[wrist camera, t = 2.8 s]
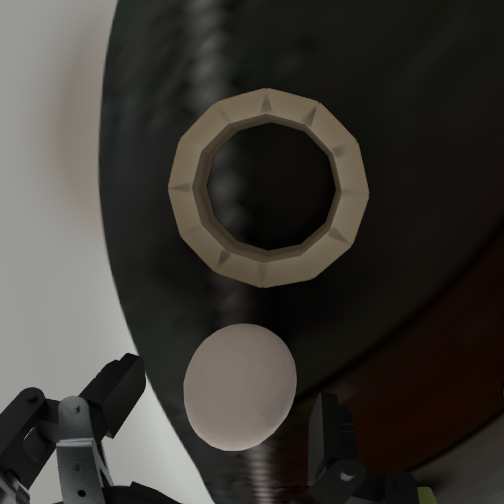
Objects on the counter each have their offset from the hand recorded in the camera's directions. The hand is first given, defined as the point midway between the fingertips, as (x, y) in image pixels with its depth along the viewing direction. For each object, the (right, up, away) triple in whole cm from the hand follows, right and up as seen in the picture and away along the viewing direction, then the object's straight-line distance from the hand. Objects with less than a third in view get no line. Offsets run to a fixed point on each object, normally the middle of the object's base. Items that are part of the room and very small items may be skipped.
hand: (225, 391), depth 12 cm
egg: (+1, +1, +6) cm, 6 cm away
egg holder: (+2, +9, +3) cm, 10 cm away
